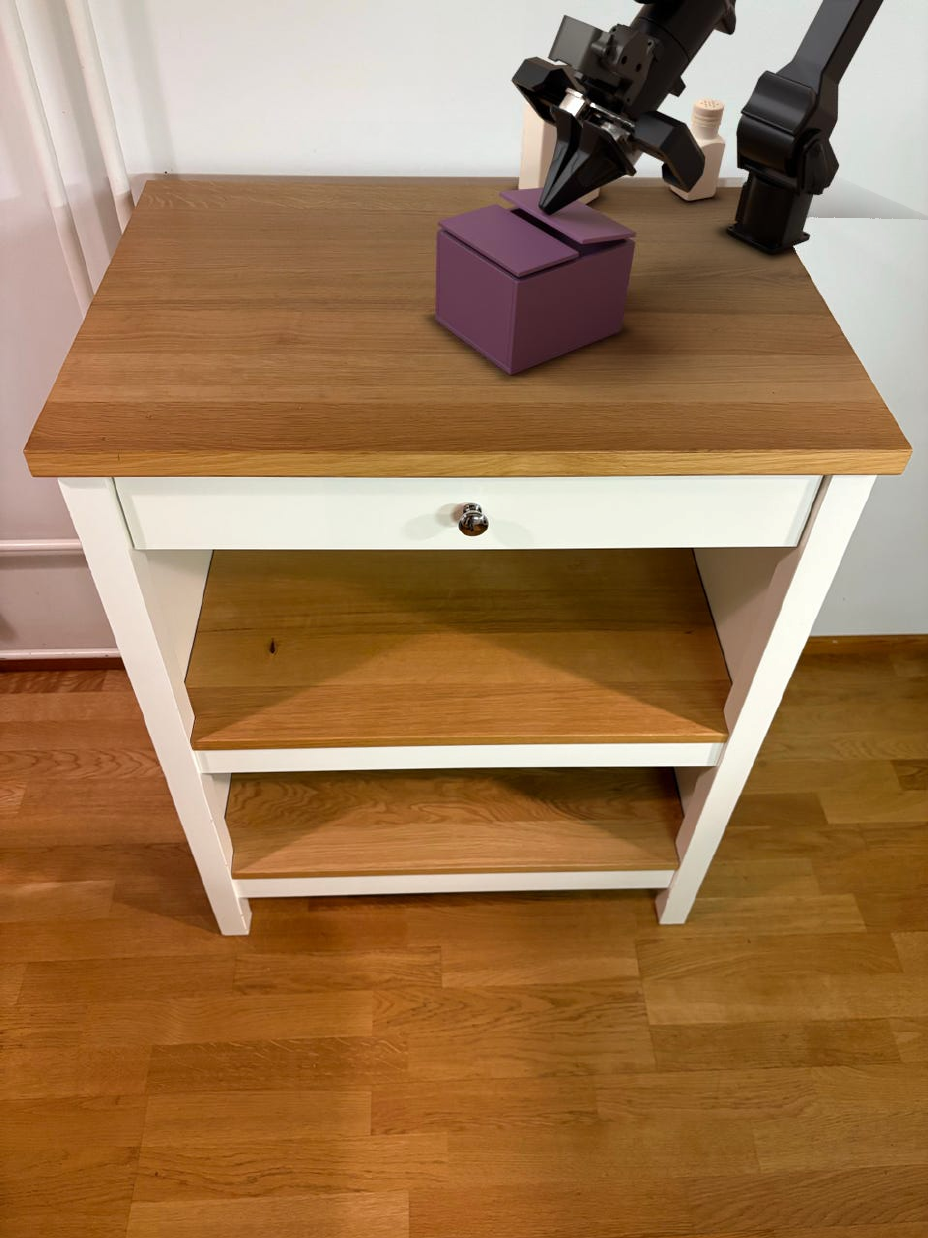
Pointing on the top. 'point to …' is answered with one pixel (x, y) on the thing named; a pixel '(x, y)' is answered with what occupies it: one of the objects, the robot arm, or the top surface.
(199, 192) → the top surface
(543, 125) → the jar
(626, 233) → the lid
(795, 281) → the top surface
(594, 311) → the box
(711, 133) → the pepper shaker
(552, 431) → the top surface
